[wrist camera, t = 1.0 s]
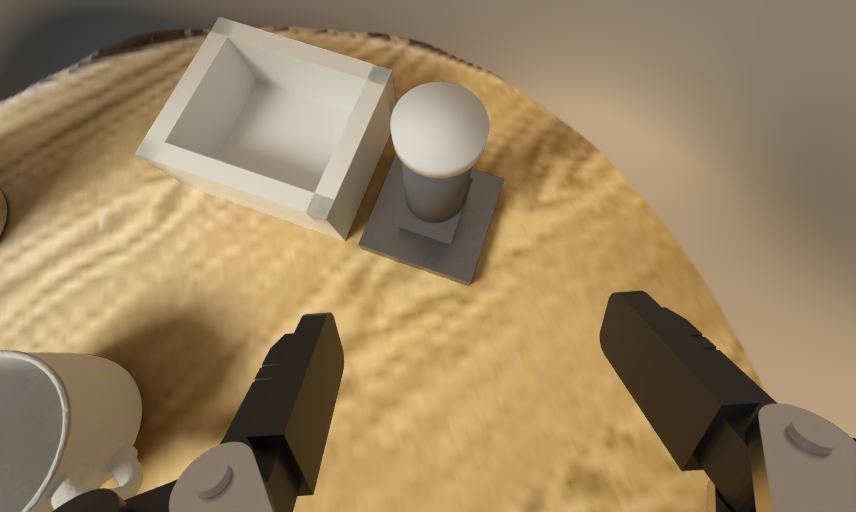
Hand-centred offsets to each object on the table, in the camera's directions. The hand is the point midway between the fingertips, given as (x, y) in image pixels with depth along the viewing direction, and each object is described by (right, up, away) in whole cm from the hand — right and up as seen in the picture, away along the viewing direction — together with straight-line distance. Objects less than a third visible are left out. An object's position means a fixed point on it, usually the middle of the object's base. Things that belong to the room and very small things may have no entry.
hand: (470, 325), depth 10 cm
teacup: (-26, -12, +16) cm, 33 cm away
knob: (-1, +6, +19) cm, 20 cm away
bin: (-14, +12, +22) cm, 28 cm away
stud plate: (-1, +6, +20) cm, 21 cm away
